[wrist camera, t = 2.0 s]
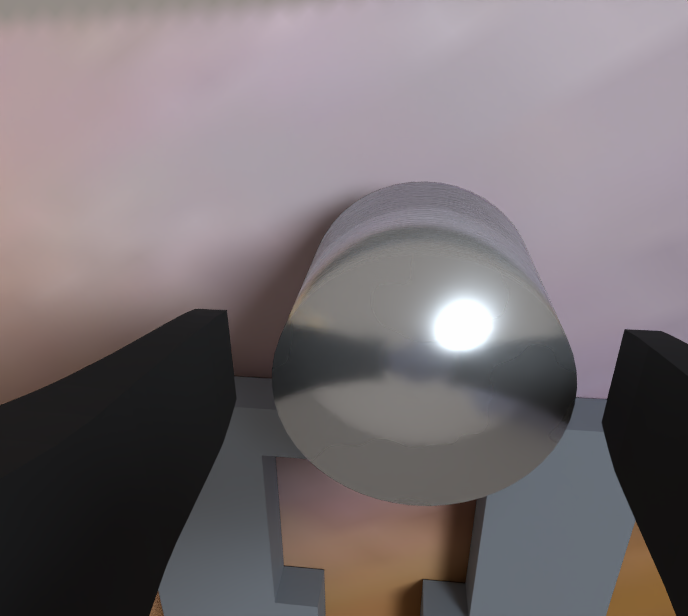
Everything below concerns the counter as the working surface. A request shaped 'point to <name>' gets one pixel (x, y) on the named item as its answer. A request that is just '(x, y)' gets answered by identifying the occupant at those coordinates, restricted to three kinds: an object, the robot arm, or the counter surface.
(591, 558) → the keyhole plate
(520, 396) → the headed peg
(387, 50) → the counter surface
